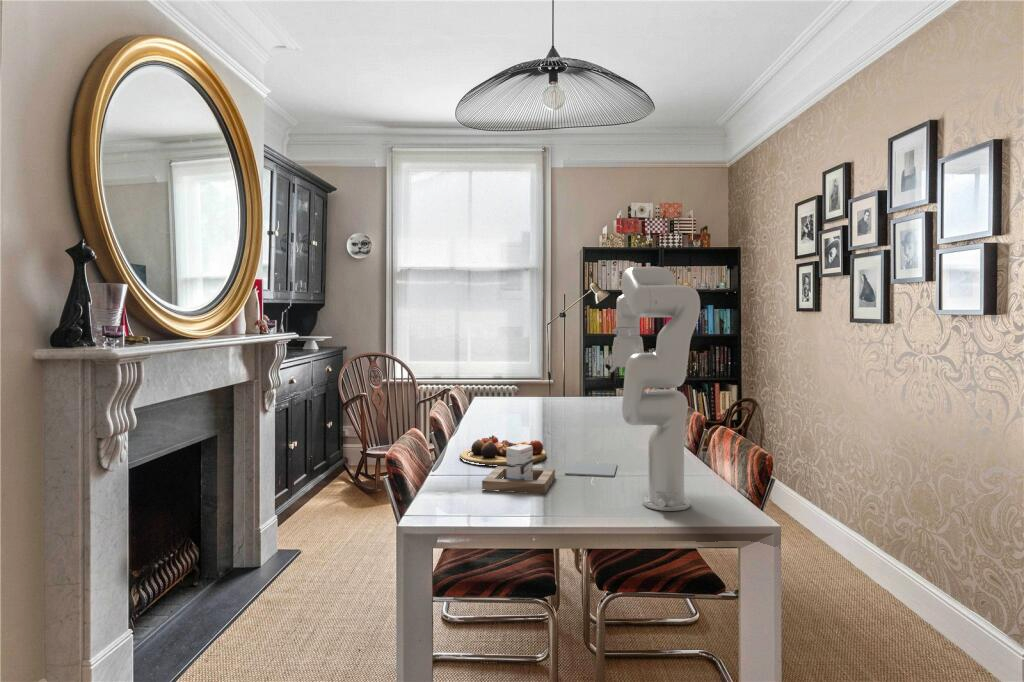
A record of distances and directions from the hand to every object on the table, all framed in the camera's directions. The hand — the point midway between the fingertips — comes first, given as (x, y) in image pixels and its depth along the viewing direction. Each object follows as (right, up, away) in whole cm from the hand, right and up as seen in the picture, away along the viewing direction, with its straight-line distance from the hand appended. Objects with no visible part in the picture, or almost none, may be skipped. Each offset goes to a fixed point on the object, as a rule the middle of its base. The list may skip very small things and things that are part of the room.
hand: (628, 384), depth 212 cm
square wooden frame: (-36, -30, -14) cm, 49 cm away
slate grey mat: (-12, -29, +3) cm, 32 cm away
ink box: (-36, -30, -14) cm, 49 cm away
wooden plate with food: (-42, -29, +24) cm, 57 cm away
